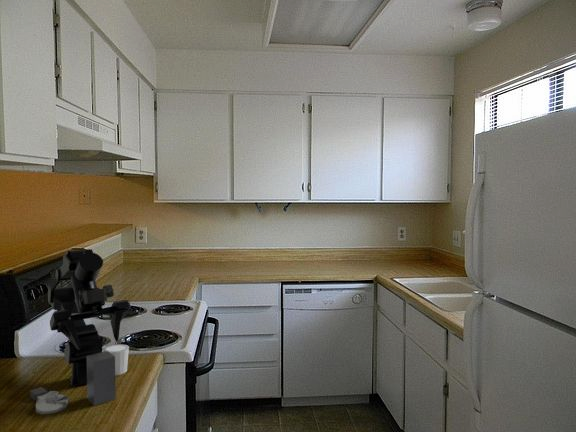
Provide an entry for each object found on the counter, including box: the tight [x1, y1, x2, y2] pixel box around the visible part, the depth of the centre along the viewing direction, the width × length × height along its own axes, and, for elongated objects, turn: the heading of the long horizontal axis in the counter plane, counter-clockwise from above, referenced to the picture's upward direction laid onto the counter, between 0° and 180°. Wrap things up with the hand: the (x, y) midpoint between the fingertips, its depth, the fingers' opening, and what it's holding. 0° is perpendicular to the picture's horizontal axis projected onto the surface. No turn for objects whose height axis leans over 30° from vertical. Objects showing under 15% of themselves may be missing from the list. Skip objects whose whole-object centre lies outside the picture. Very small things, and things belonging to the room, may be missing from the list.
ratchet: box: [29, 386, 69, 415], centre depth 108 cm, size 13×7×4 cm, turn 50°
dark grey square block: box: [86, 351, 117, 407], centre depth 110 cm, size 5×5×11 cm
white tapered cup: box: [103, 343, 130, 376], centre depth 127 cm, size 7×7×7 cm
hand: (98, 344), depth 110 cm, fingers open, 9 cm apart
